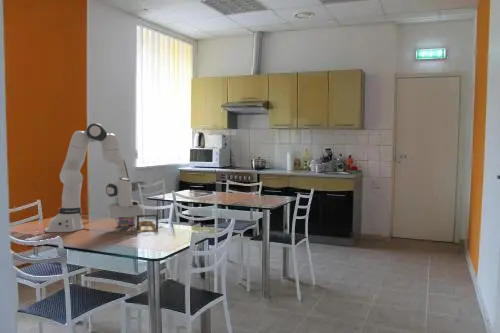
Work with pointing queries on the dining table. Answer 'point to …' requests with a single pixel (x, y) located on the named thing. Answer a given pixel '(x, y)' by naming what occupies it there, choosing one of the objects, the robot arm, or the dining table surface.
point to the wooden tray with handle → (146, 224)
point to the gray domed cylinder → (124, 224)
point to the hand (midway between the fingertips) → (125, 223)
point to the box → (128, 220)
